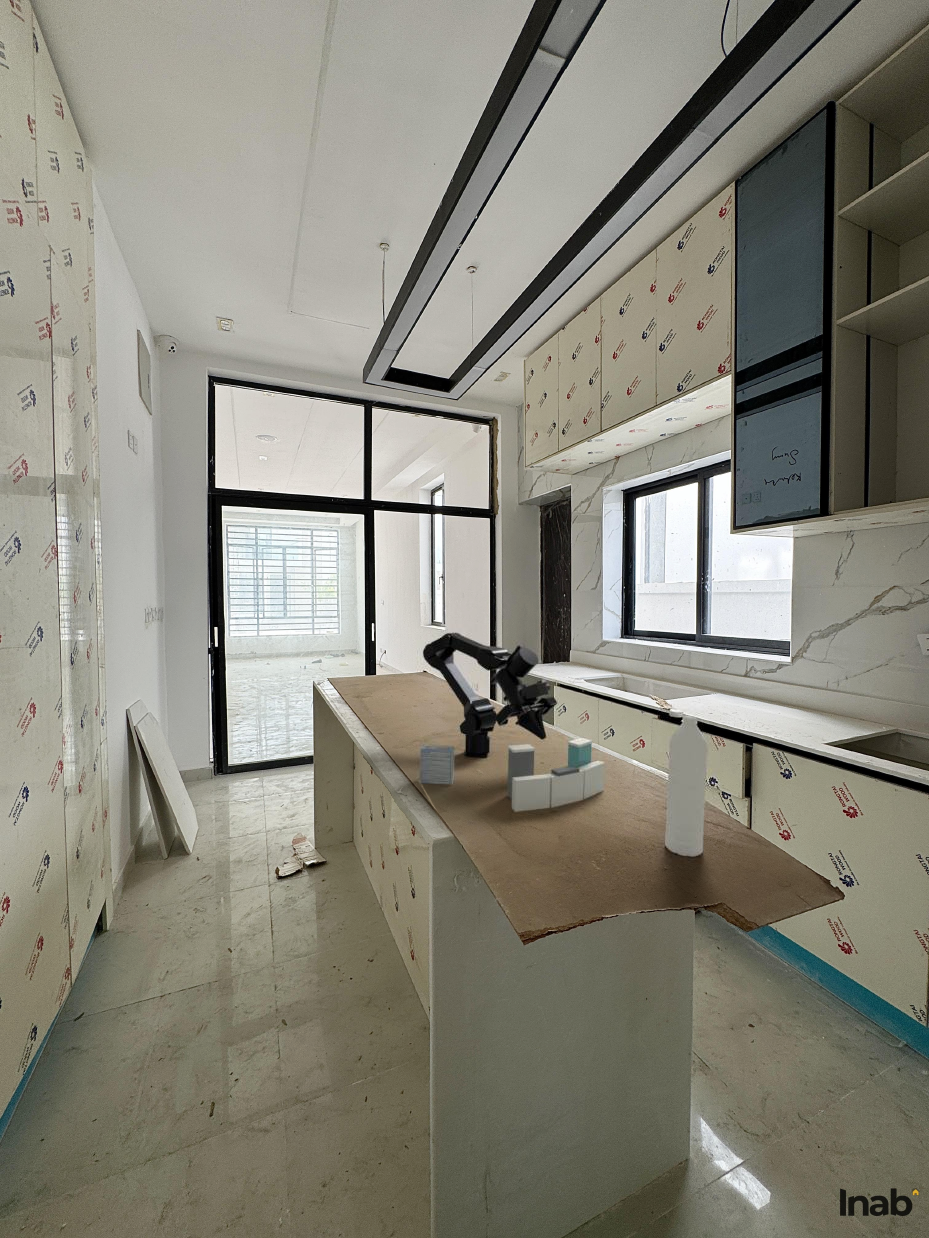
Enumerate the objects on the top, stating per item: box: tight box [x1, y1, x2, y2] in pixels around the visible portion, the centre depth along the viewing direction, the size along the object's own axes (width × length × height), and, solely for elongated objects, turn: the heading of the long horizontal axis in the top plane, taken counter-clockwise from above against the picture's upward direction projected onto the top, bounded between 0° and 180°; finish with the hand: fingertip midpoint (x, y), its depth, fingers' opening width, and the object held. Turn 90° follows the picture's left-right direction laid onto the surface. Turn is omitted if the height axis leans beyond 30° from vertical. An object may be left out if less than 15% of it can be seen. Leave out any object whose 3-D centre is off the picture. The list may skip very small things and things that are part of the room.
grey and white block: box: [507, 743, 536, 801], centre depth 119 cm, size 3×5×12 cm, turn 107°
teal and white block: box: [567, 737, 593, 768], centre depth 124 cm, size 3×5×12 cm, turn 133°
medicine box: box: [419, 744, 455, 786], centre depth 128 cm, size 8×4×9 cm, turn 84°
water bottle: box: [664, 708, 709, 858], centre depth 98 cm, size 9×6×25 cm
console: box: [511, 760, 606, 813], centre depth 118 cm, size 26×4×8 cm, turn 120°
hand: (544, 738), depth 132 cm, fingers closed
